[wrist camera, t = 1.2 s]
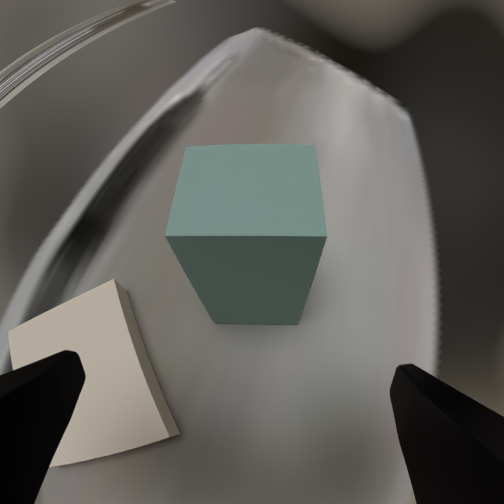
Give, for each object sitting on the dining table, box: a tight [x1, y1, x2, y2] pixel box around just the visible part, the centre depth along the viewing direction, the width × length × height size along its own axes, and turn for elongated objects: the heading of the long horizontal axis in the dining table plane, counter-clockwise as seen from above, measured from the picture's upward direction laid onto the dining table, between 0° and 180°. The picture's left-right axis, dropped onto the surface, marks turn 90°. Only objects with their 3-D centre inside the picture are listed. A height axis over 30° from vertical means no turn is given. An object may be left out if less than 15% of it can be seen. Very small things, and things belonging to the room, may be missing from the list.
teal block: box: [165, 144, 327, 325], centre depth 17 cm, size 5×6×12 cm
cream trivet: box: [8, 279, 180, 468], centre depth 18 cm, size 12×12×2 cm
